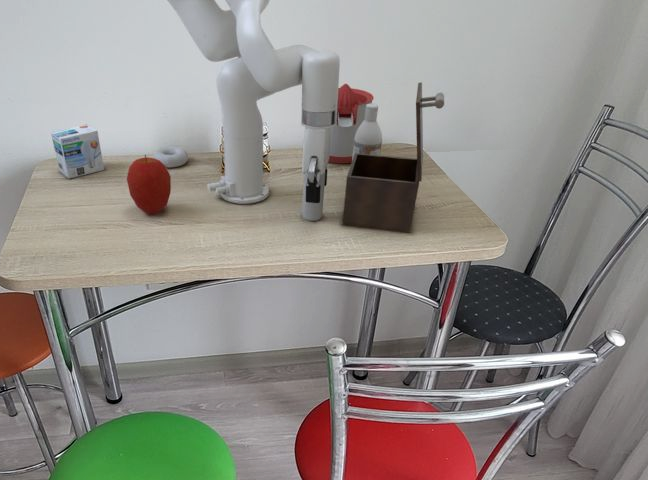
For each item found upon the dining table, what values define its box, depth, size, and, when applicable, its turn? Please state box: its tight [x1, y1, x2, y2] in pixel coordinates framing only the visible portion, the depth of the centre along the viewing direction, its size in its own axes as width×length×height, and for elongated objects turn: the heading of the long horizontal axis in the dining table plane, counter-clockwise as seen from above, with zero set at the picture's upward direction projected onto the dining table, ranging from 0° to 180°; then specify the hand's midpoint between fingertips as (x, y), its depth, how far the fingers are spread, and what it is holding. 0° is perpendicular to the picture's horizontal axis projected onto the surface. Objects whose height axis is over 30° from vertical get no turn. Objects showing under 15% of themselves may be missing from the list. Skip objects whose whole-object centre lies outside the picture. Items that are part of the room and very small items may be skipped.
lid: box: [415, 82, 445, 183], centre depth 121 cm, size 16×15×5 cm
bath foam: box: [352, 102, 383, 160], centre depth 143 cm, size 7×7×20 cm
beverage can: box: [301, 170, 325, 222], centre depth 131 cm, size 5×5×12 cm
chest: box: [341, 153, 420, 234], centre depth 132 cm, size 16×15×12 cm
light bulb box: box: [50, 124, 105, 180], centre depth 152 cm, size 11×7×11 cm, turn 129°
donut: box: [152, 145, 189, 169], centre depth 159 cm, size 10×4×10 cm
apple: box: [126, 153, 172, 215], centre depth 132 cm, size 10×10×14 cm
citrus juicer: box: [328, 83, 375, 164], centre depth 157 cm, size 16×17×20 cm
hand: (316, 193), depth 130 cm, fingers open, 9 cm apart
